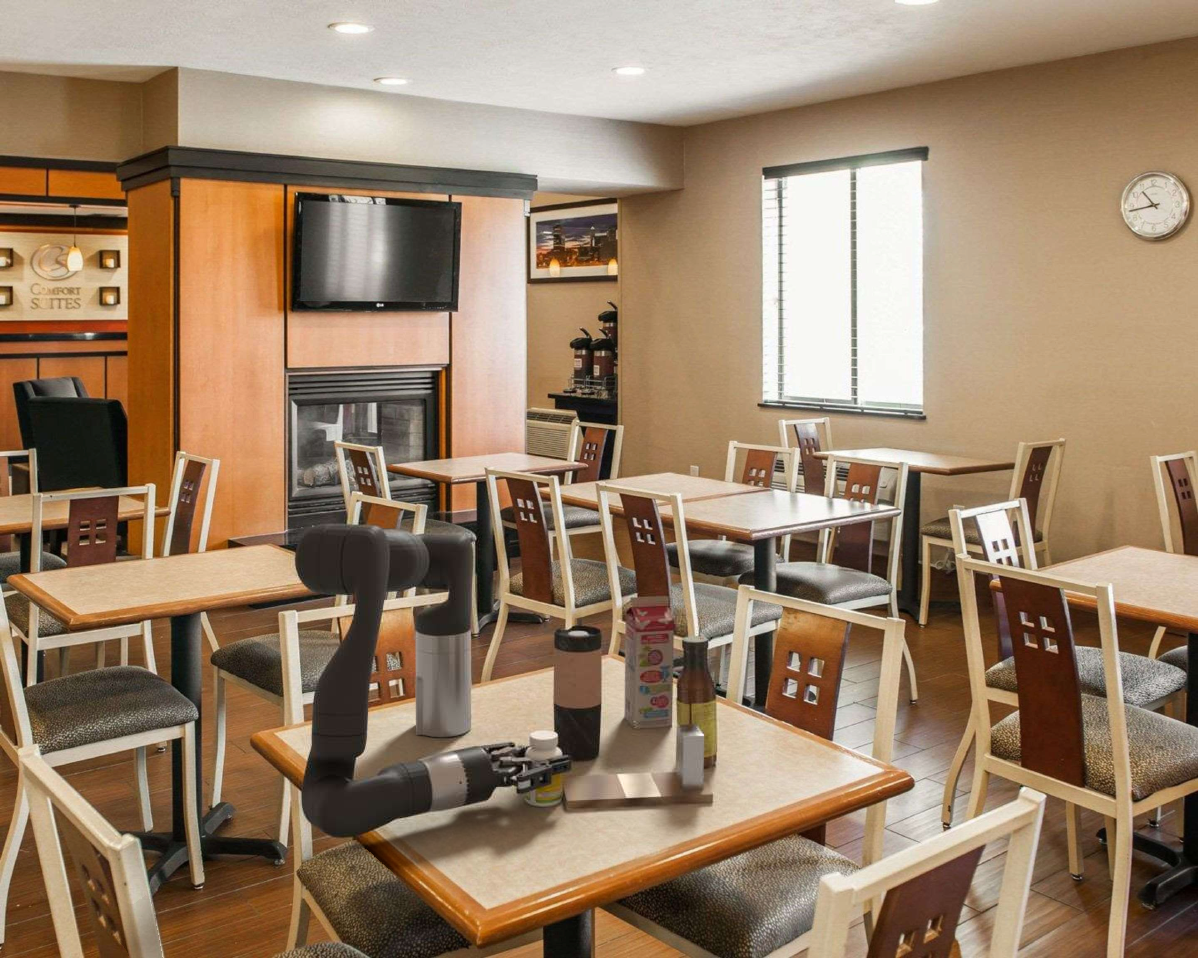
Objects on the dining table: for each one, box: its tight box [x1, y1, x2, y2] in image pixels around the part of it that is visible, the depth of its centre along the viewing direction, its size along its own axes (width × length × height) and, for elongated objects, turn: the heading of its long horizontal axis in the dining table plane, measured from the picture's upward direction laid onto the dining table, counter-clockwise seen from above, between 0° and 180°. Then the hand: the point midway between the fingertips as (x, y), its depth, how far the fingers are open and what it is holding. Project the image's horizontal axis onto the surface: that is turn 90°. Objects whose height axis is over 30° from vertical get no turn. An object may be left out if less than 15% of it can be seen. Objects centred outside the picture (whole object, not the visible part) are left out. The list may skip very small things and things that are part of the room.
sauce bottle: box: [675, 635, 718, 769], centre depth 179 cm, size 6×6×20 cm
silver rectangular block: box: [675, 724, 704, 790], centre depth 168 cm, size 3×5×8 cm, turn 8°
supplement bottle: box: [524, 729, 563, 808], centre depth 165 cm, size 5×5×10 cm
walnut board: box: [562, 771, 714, 810], centre depth 168 cm, size 21×9×1 cm, turn 98°
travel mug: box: [552, 624, 603, 762], centre depth 183 cm, size 8×8×20 cm
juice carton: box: [623, 595, 675, 730], centre depth 198 cm, size 7×7×22 cm
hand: (558, 756), depth 166 cm, fingers closed on supplement bottle, 5 cm apart
